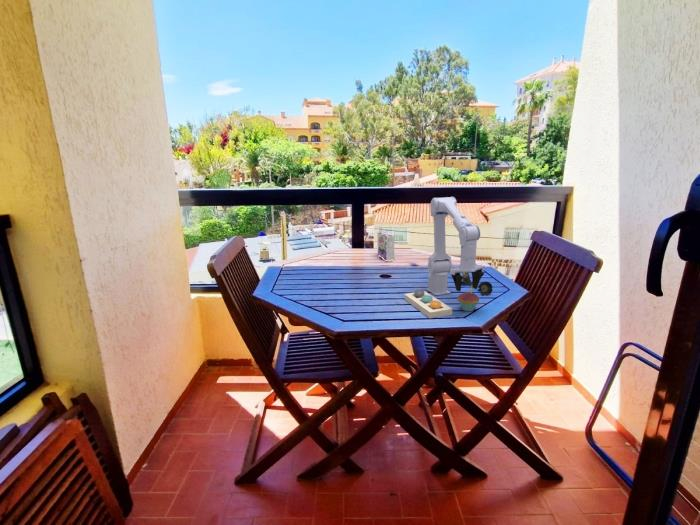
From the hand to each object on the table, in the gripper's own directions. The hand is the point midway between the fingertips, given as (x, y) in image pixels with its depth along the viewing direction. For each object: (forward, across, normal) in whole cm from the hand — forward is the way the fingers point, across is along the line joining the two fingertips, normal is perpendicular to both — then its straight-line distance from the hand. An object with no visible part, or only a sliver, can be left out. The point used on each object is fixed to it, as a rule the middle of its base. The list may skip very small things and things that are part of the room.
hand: (466, 289), depth 156 cm
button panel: (+10, -11, +11) cm, 19 cm away
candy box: (+10, +4, +91) cm, 92 cm away
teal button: (+8, -11, +11) cm, 18 cm away
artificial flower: (+10, +20, +24) cm, 33 cm away
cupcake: (+10, +3, +2) cm, 10 cm away
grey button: (+8, -11, +18) cm, 23 cm away
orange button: (+8, -11, +4) cm, 15 cm away
